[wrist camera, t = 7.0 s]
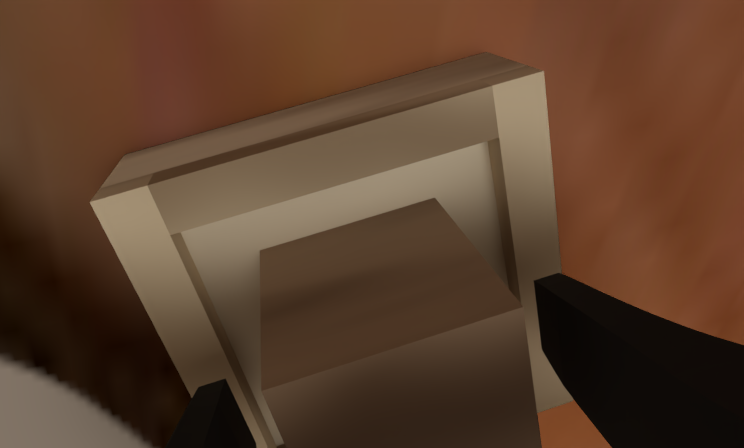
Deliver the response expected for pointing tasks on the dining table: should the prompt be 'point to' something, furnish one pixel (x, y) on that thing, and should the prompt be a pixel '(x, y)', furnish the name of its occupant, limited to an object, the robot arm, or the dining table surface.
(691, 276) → the dining table surface
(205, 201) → the beech base
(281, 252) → the walnut block
